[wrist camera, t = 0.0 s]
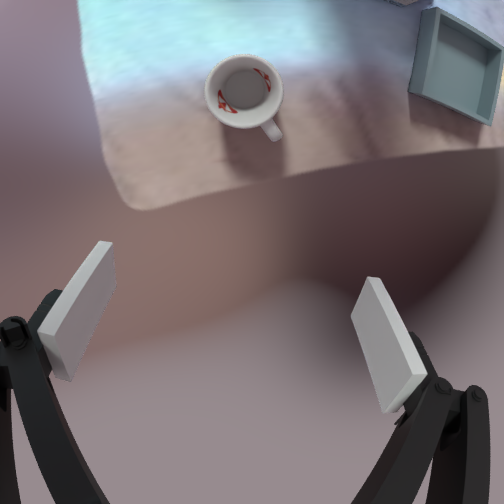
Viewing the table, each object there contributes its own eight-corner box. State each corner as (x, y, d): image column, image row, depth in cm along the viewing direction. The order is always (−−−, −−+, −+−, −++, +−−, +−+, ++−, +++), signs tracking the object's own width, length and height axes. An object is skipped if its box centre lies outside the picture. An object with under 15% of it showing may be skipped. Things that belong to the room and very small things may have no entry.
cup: (301, 116, 38) (313, 125, 31) (249, 149, 40) (249, 165, 33) (253, 47, 33) (254, 39, 26) (199, 82, 35) (188, 83, 29)
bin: (422, 10, 29) (436, 6, 25) (489, 47, 30) (505, 48, 27) (407, 91, 35) (421, 94, 32) (475, 121, 36) (490, 126, 33)
